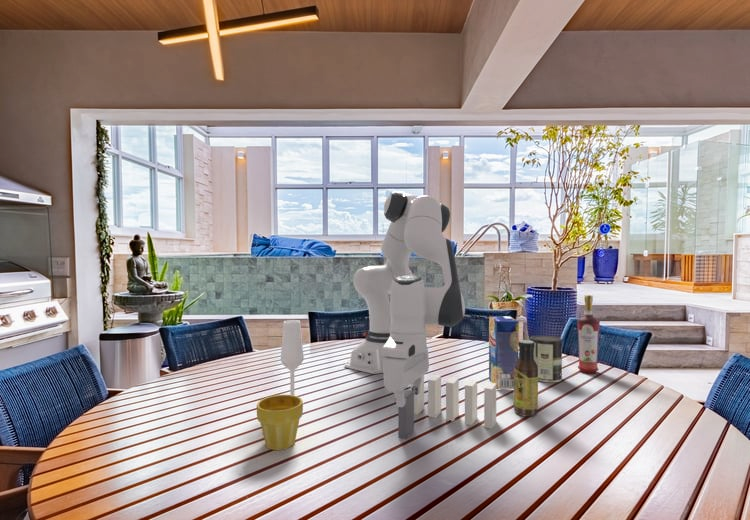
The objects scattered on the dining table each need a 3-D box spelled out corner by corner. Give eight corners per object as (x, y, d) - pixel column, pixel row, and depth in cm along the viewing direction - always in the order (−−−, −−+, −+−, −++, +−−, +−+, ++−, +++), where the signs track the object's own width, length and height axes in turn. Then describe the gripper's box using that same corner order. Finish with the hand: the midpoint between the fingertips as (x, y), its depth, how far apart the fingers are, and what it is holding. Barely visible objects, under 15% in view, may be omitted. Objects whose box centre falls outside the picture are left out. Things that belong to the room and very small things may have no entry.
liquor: (600, 370, 154) (600, 295, 153) (598, 375, 148) (599, 297, 147) (578, 367, 158) (578, 294, 157) (575, 372, 152) (576, 296, 151)
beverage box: (509, 379, 144) (509, 316, 143) (518, 390, 133) (518, 321, 132) (488, 379, 144) (489, 316, 144) (496, 390, 133) (496, 321, 133)
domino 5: (464, 423, 108) (464, 385, 107) (469, 416, 112) (469, 379, 112) (472, 425, 107) (472, 386, 106) (477, 418, 111) (477, 380, 111)
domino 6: (484, 427, 105) (484, 388, 105) (488, 420, 110) (488, 382, 109) (492, 428, 104) (492, 389, 104) (496, 421, 109) (496, 383, 109)
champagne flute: (308, 402, 123) (308, 321, 122) (289, 408, 118) (289, 324, 117) (295, 397, 127) (294, 318, 127) (276, 403, 122) (275, 321, 122)
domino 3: (428, 416, 112) (427, 379, 112) (434, 410, 117) (434, 374, 116) (435, 417, 111) (435, 380, 111) (441, 411, 116) (441, 375, 115)
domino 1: (398, 437, 100) (398, 395, 100) (406, 429, 104) (406, 389, 104) (406, 439, 99) (406, 397, 99) (414, 430, 103) (414, 390, 103)
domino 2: (410, 413, 114) (410, 377, 114) (417, 407, 119) (417, 372, 119) (417, 414, 114) (417, 378, 113) (424, 408, 118) (424, 373, 118)
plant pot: (280, 459, 89) (280, 414, 89) (247, 447, 95) (246, 404, 95) (312, 440, 98) (311, 399, 98) (280, 430, 104) (279, 391, 103)
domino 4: (445, 419, 110) (445, 382, 110) (451, 413, 114) (451, 377, 114) (453, 421, 109) (453, 383, 109) (458, 414, 113) (458, 378, 113)
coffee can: (554, 373, 151) (555, 334, 150) (567, 382, 140) (567, 341, 140) (526, 373, 151) (526, 334, 150) (536, 382, 140) (536, 341, 140)
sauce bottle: (510, 408, 118) (510, 338, 117) (532, 408, 118) (533, 338, 117) (518, 417, 111) (518, 343, 111) (541, 417, 111) (542, 343, 111)
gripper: (412, 334, 112) (412, 385, 112) (378, 350, 93) (378, 411, 94) (434, 336, 109) (435, 389, 109) (404, 353, 90) (404, 416, 91)
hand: (408, 399), depth 101 cm, fingers open, 8 cm apart
